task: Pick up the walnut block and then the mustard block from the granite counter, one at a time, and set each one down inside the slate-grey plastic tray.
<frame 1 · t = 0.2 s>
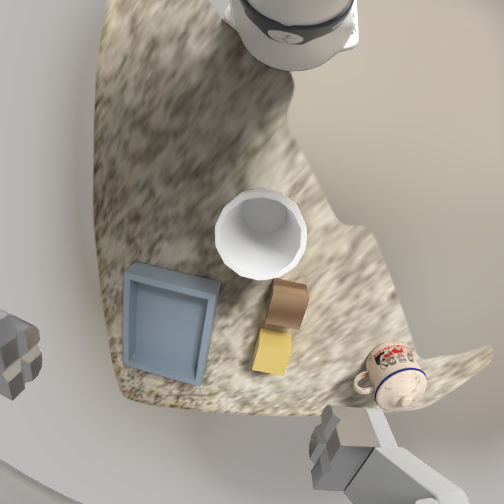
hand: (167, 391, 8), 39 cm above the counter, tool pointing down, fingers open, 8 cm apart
mustard block: (272, 342, 52), on the counter
tray: (171, 320, 52), on the counter
walnut block: (286, 295, 49), on the counter
teacup with lid: (380, 360, 52), on the counter
foam cup: (264, 210, 45), on the counter
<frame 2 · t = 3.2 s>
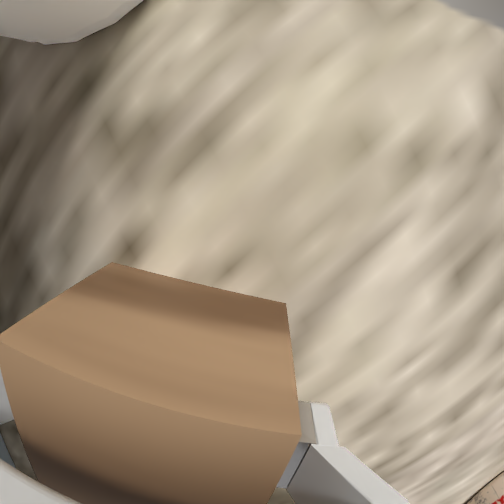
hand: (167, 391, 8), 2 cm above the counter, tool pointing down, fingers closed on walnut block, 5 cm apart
walnut block: (183, 357, 9), on the counter, touching gripper
teacup with lid: (488, 496, 12), on the counter
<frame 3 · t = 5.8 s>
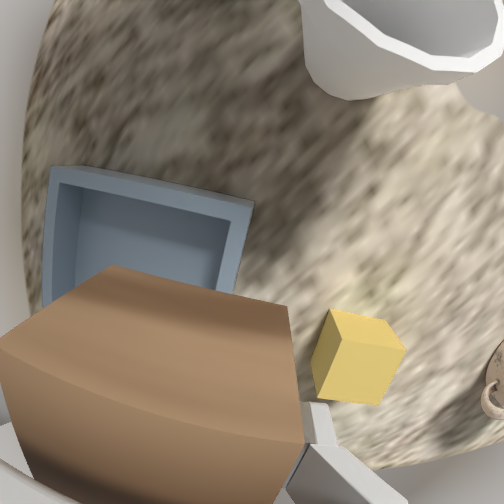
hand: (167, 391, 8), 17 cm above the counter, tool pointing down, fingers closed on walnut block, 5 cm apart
mustard block: (347, 341, 25), on the counter
tray: (143, 292, 25), on the counter
walnut block: (183, 361, 9), point 15 cm above the counter, touching gripper
teacup with lid: (502, 362, 25), on the counter
foam cup: (346, 62, 20), on the counter
when the fingers open (5 cm above the counter, at t = 8.3 s): walnut block drops 2 cm, resting on tray.
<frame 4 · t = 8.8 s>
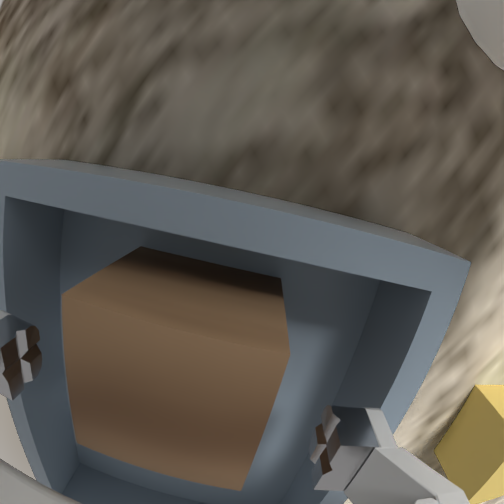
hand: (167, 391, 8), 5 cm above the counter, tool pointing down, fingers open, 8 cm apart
mustard block: (481, 417, 14), on the counter
tray: (189, 391, 13), on the counter
walnut block: (197, 326, 12), point 1 cm above the counter, touching tray
foam cup: (501, 24, 9), on the counter
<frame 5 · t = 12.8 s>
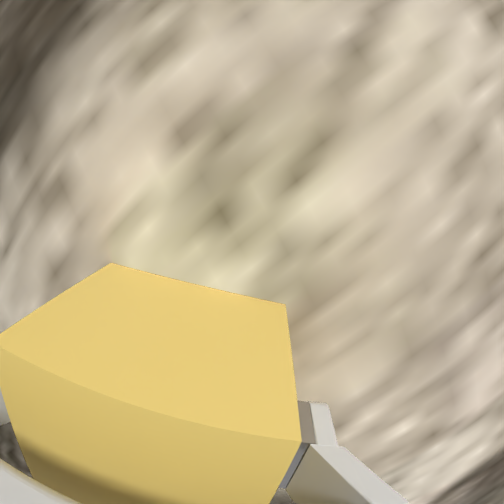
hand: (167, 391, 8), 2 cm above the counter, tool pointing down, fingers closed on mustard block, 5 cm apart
mustard block: (182, 360, 9), on the counter, touching gripper
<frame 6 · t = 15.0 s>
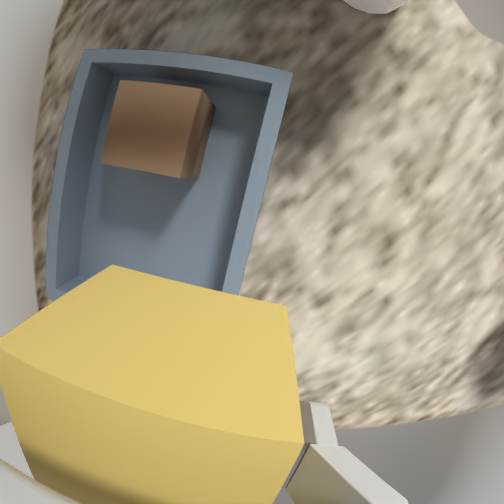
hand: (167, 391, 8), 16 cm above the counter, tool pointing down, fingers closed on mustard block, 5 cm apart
mustard block: (183, 361, 9), point 15 cm above the counter, touching gripper
tray: (164, 190, 23), on the counter
walnut block: (173, 135, 21), point 1 cm above the counter, touching tray
when the fingers open (5 cm above the counter, at t = 17.5 s): mustard block drops 2 cm, resting on tray.
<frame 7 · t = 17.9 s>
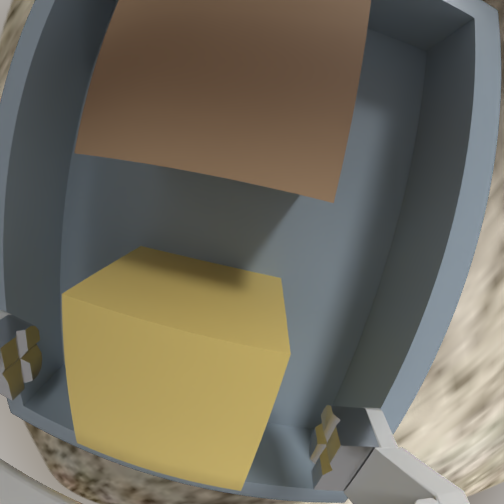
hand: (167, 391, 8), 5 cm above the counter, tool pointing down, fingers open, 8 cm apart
mustard block: (197, 326, 12), point 1 cm above the counter, touching tray
tray: (221, 215, 12), on the counter
walnut block: (243, 101, 10), point 1 cm above the counter, touching tray
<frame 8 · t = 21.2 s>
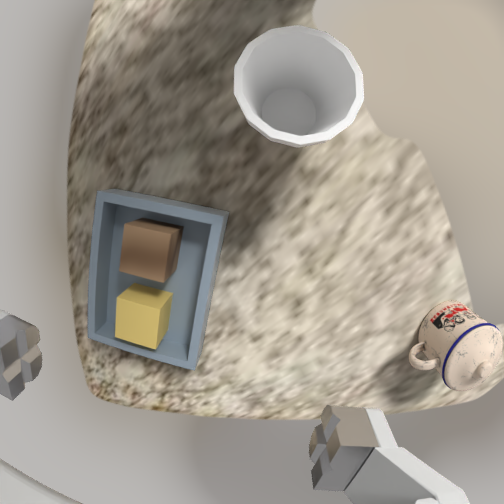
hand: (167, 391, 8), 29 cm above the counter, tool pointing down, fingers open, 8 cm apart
mustard block: (151, 306, 38), point 1 cm above the counter, touching tray
tray: (157, 273, 38), on the counter
walnut block: (159, 243, 36), point 1 cm above the counter, touching tray
teacup with lid: (434, 330, 38), on the counter
foam cup: (288, 114, 33), on the counter
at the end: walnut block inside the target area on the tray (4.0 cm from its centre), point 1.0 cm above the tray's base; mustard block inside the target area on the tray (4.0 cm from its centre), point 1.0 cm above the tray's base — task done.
